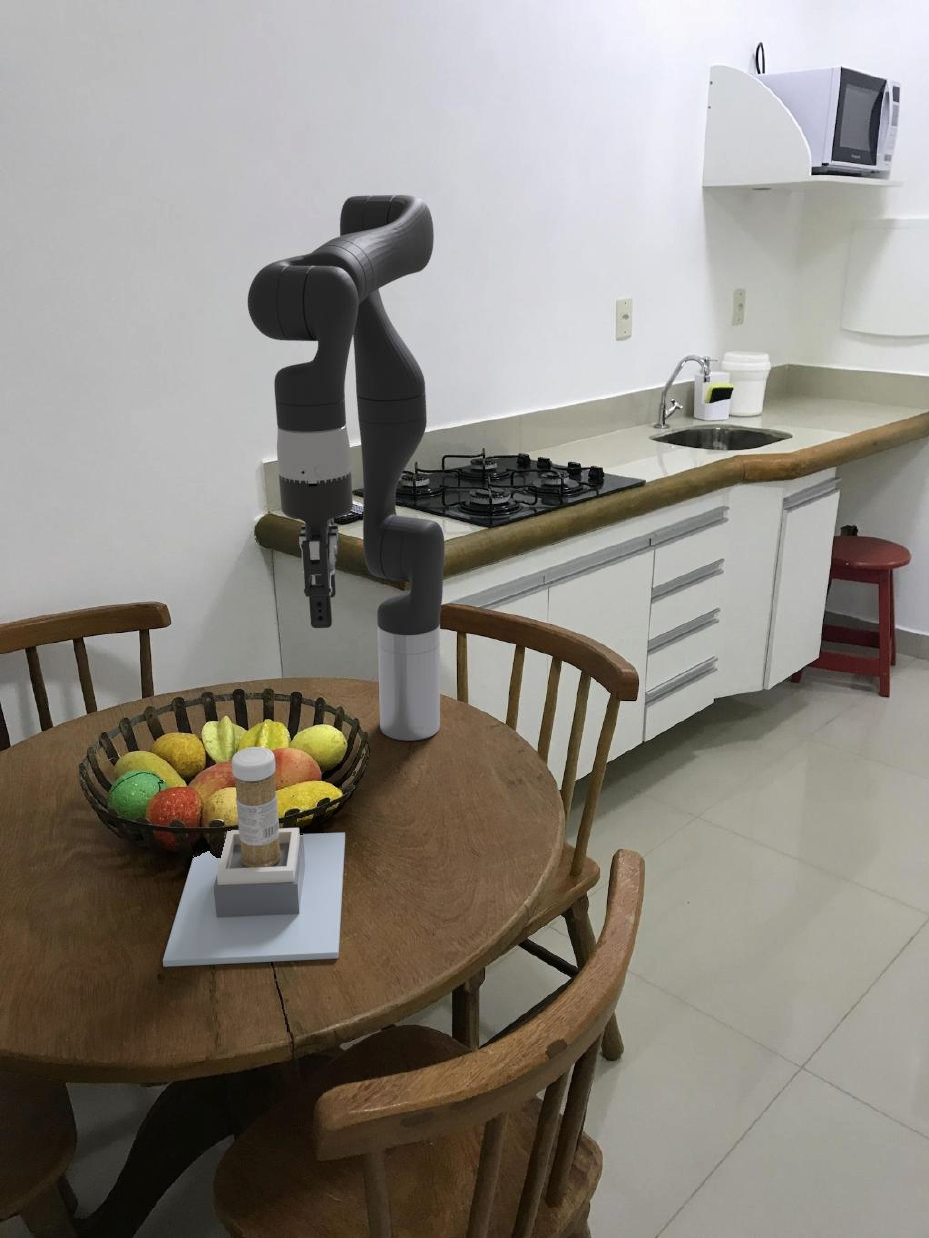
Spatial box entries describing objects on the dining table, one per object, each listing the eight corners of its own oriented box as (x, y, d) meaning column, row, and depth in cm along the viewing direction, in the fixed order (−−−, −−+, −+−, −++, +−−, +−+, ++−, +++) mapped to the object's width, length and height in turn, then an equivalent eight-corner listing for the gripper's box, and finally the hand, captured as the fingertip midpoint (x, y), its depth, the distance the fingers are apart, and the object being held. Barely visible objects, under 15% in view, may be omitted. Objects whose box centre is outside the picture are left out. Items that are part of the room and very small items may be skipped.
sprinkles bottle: (269, 843, 114) (261, 740, 109) (289, 861, 110) (282, 756, 105) (233, 857, 111) (223, 753, 106) (252, 877, 108) (244, 770, 103)
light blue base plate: (199, 843, 122) (195, 799, 119) (345, 837, 123) (343, 794, 121) (163, 966, 101) (157, 916, 99) (338, 958, 103) (336, 909, 100)
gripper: (284, 452, 108) (295, 588, 115) (271, 487, 95) (283, 639, 102) (352, 451, 109) (359, 586, 115) (348, 486, 96) (356, 636, 102)
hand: (324, 611), depth 109 cm, fingers open, 8 cm apart
